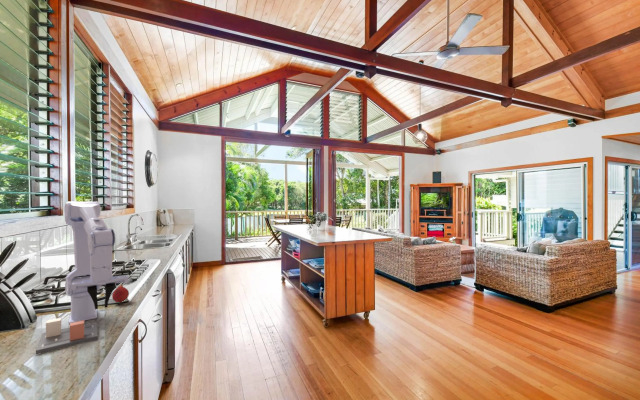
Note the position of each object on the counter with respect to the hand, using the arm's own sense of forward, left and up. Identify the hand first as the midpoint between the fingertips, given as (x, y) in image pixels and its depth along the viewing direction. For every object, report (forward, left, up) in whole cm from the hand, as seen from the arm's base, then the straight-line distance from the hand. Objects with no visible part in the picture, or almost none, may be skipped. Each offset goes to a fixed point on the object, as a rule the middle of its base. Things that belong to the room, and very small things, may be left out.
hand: (101, 307), depth 93 cm
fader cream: (-7, -12, -8) cm, 16 cm away
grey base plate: (-4, -8, -9) cm, 13 cm away
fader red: (0, -6, -8) cm, 10 cm away
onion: (-31, +7, -10) cm, 33 cm away
